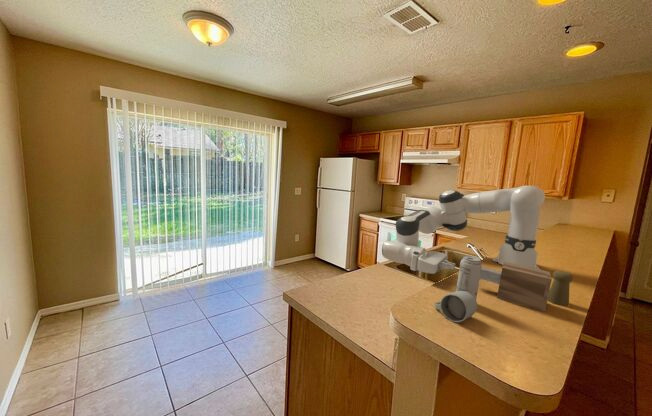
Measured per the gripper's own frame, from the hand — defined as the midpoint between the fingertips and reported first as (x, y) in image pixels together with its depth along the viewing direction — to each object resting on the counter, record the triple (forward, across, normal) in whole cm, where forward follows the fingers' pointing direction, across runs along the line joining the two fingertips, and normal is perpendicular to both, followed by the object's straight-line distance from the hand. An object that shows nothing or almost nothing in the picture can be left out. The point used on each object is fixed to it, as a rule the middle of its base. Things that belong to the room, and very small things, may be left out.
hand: (454, 266), depth 104 cm
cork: (+32, -9, -6) cm, 34 cm away
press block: (+21, 0, -6) cm, 22 cm away
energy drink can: (+7, +17, -6) cm, 19 cm away
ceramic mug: (+6, +28, -6) cm, 30 cm away
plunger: (+13, 0, -2) cm, 14 cm away
